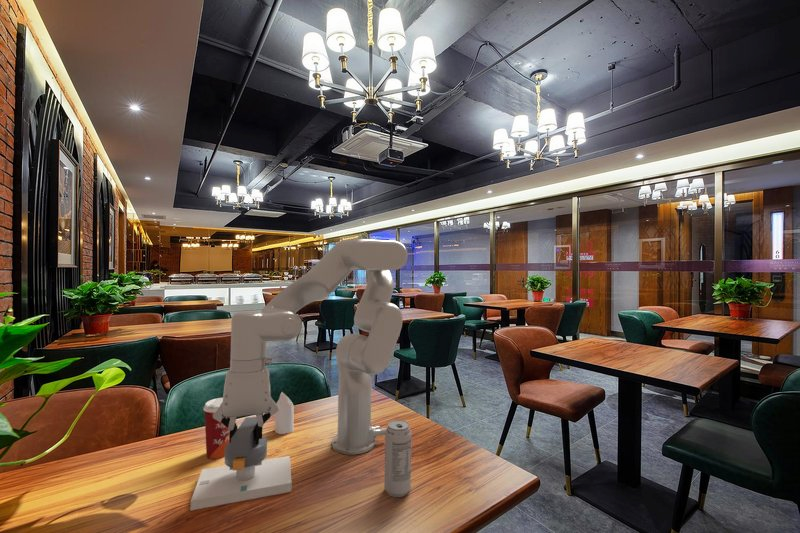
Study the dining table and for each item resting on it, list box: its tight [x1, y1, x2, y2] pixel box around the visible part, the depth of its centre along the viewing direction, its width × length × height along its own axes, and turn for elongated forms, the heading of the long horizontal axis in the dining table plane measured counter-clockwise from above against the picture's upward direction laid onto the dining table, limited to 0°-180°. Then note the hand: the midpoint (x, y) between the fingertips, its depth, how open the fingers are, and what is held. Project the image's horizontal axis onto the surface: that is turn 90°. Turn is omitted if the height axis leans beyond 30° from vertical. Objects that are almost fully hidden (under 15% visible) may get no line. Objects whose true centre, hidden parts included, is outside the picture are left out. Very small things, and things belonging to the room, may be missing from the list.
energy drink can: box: [383, 419, 412, 498], centre depth 80 cm, size 6×6×15 cm
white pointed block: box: [274, 391, 295, 435], centre depth 109 cm, size 6×12×6 cm
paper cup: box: [202, 397, 231, 460], centre depth 94 cm, size 8×8×14 cm
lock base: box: [189, 455, 293, 511], centre depth 81 cm, size 20×12×6 cm, turn 110°
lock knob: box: [224, 416, 268, 471], centre depth 81 cm, size 12×9×7 cm
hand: (246, 442), depth 81 cm, fingers closed on lock knob, 4 cm apart
